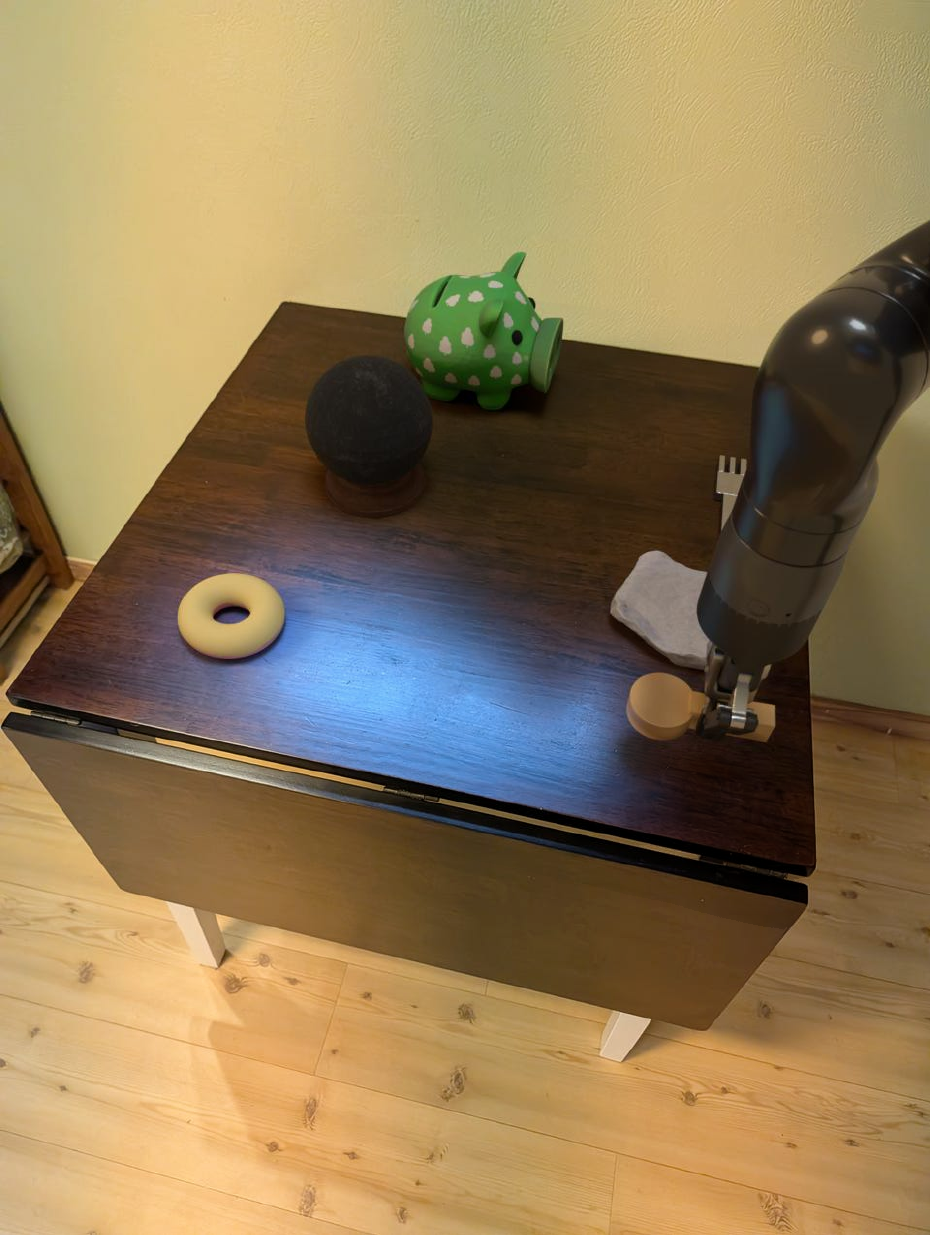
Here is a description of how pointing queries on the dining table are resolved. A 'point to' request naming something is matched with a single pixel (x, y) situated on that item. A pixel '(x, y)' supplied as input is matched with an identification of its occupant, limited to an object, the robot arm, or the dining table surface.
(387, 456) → the black ball on stand
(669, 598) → the stone block
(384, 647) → the dining table surface
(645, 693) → the wooden round paddle
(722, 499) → the fork
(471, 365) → the piggy bank
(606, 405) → the dining table surface
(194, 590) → the donut
